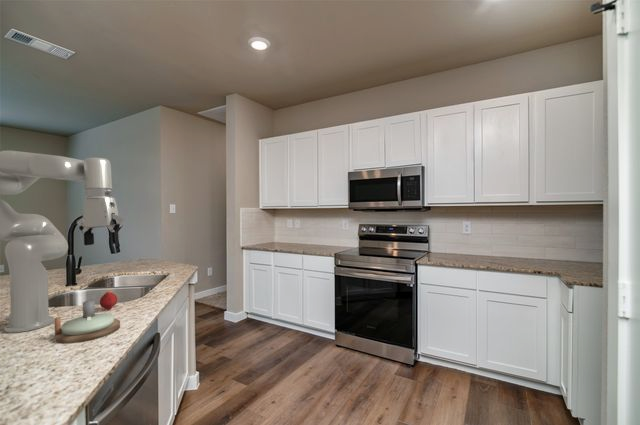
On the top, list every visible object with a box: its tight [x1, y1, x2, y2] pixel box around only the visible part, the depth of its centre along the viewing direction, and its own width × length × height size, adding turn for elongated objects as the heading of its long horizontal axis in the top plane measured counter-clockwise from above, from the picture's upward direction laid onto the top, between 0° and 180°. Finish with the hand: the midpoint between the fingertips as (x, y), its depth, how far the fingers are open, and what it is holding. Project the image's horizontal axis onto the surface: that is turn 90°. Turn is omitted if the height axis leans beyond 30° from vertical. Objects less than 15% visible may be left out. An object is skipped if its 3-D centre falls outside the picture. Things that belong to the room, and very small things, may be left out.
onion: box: [99, 289, 118, 311], centre depth 121 cm, size 6×6×8 cm
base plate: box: [54, 316, 121, 344], centre depth 98 cm, size 17×17×6 cm
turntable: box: [61, 300, 115, 335], centre depth 98 cm, size 14×14×7 cm
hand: (101, 244), depth 102 cm, fingers open, 9 cm apart
